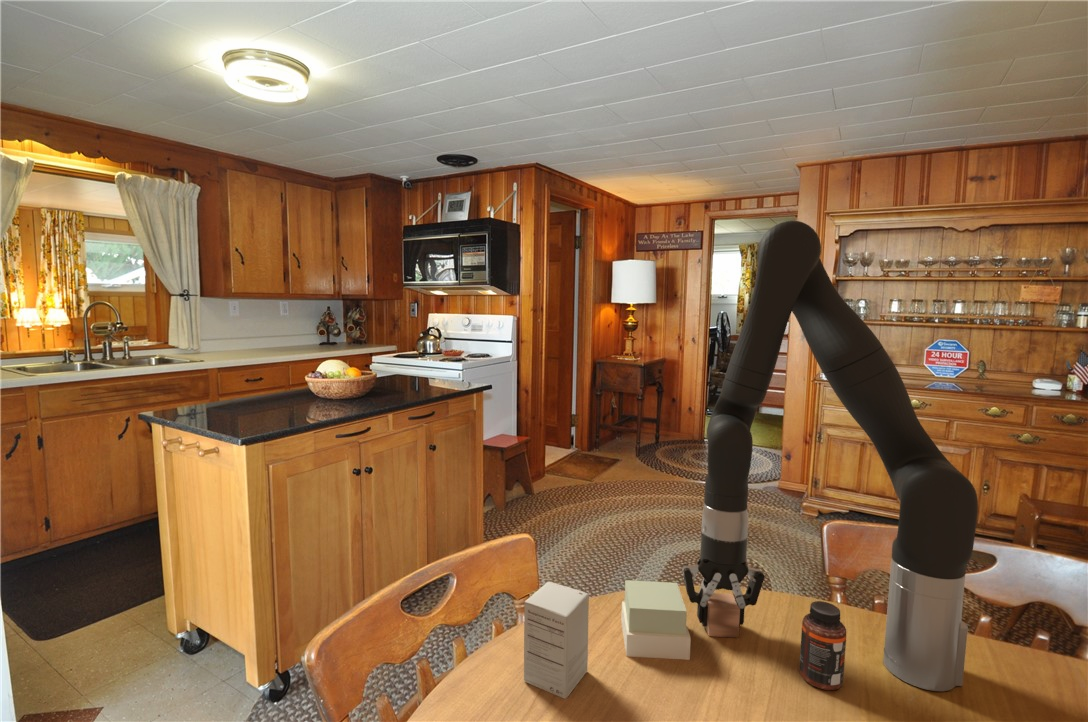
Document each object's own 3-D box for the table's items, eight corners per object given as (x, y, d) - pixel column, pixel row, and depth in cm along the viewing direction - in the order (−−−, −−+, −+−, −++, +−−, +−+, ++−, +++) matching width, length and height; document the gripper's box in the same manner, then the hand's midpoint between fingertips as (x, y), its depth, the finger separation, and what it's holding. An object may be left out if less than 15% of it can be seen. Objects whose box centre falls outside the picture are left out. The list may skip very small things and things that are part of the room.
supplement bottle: (848, 695, 78) (854, 621, 77) (804, 689, 80) (809, 616, 79) (835, 669, 84) (840, 599, 83) (794, 663, 85) (798, 595, 84)
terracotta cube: (730, 620, 97) (731, 594, 96) (738, 637, 92) (740, 609, 91) (702, 619, 97) (703, 592, 97) (708, 635, 92) (709, 607, 92)
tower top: (676, 604, 95) (677, 582, 95) (685, 635, 86) (686, 611, 86) (624, 601, 96) (625, 580, 96) (628, 631, 87) (629, 608, 87)
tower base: (677, 625, 96) (678, 603, 96) (689, 661, 86) (690, 637, 86) (621, 622, 97) (621, 601, 96) (626, 658, 87) (627, 634, 86)
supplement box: (547, 655, 86) (548, 579, 85) (588, 671, 83) (590, 592, 82) (521, 682, 80) (522, 600, 79) (565, 701, 76) (567, 615, 75)
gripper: (759, 523, 96) (754, 615, 98) (678, 520, 97) (674, 611, 99) (774, 541, 89) (769, 640, 90) (686, 537, 90) (682, 635, 91)
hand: (719, 624), depth 95 cm, fingers closed on terracotta cube, 5 cm apart
